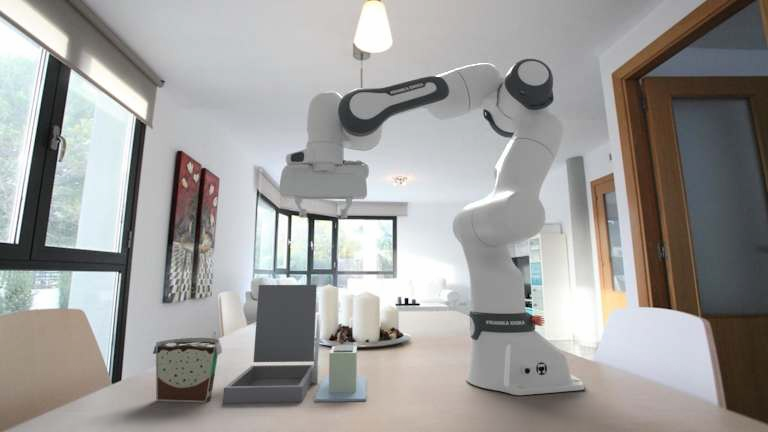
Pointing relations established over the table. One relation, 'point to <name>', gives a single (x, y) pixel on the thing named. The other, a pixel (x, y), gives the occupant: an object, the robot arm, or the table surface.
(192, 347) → the food container
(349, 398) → the mat
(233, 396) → the case
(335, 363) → the module
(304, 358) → the lid
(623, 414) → the table surface
